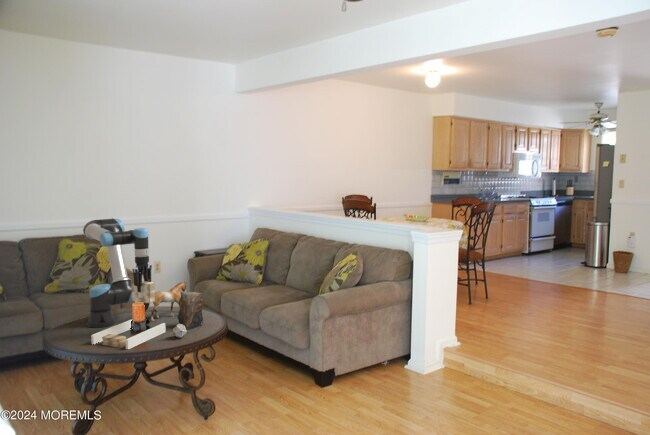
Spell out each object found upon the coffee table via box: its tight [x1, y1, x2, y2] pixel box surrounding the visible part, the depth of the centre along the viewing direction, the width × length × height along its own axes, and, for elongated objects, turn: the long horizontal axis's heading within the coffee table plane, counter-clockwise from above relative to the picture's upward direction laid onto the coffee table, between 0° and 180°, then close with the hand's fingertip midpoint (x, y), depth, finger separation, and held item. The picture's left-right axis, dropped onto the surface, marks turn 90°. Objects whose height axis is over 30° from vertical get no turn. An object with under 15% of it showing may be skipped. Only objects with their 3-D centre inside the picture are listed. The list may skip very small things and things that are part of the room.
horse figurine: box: [143, 281, 187, 322], centre depth 334 cm, size 31×8×21 cm, turn 128°
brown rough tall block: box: [177, 291, 204, 331], centre depth 318 cm, size 13×13×20 cm
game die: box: [170, 321, 189, 340], centre depth 296 cm, size 9×8×10 cm
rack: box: [90, 319, 167, 350], centre depth 297 cm, size 24×31×5 cm
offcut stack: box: [100, 334, 127, 349], centre depth 286 cm, size 13×6×4 cm, turn 67°
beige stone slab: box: [131, 280, 156, 304], centre depth 305 cm, size 13×4×11 cm, turn 68°
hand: (143, 296), depth 305 cm, fingers closed on beige stone slab, 4 cm apart
